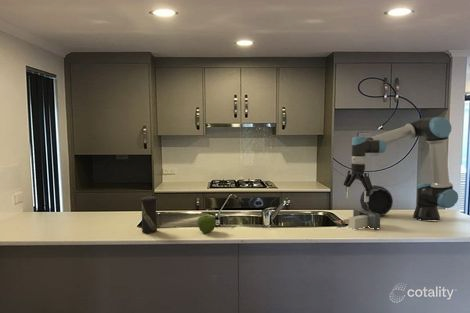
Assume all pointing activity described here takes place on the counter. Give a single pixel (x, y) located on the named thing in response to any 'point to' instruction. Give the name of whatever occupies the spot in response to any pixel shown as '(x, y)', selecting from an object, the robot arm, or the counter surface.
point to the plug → (359, 221)
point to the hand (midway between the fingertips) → (357, 199)
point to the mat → (343, 221)
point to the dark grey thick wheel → (377, 201)
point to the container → (149, 214)
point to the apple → (206, 223)
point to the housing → (373, 217)
